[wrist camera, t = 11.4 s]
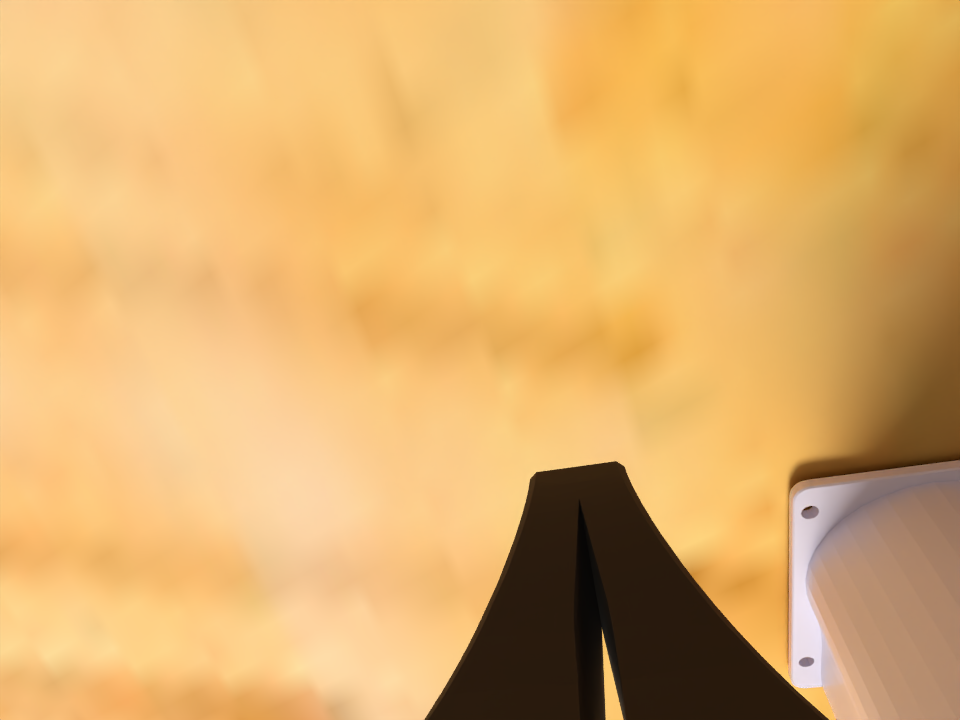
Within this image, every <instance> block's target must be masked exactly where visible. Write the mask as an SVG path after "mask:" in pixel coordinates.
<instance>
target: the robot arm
mask: <svg viewBox="0 0 960 720" xmlns="http://www.w3.org/2000/svg"><path fill="white" fill-rule="evenodd" d="M808 506H813V507H812V508H810V509H808V510H803V509H804V508H805V507H808ZM602 630H603V634H604V638H605V643H606V647H607V651H608V655H609V660H610V664H611V668H612V672H613V676H614V681H615V685H616V689H617V693H618V698H619V702H620V706H621V710H622V714H623V719H624V720H829V719H828V718H827V717H825V716H824V715H823V714H822V713H821V712H820V711H819V710H818V709H816V708H815V707H814V706H813V705H812V704H811V703H810V702H809V701H807V700H806V699H805V698H804V697H803V696H802V695H801V694H800V693H798V692H797V691H796V690H795V689H794V688H793V687H792V686H791V685H790V684H789V683H788V682H787V681H786V680H785V679H784V678H783V677H782V676H781V675H780V674H779V673H778V672H777V671H776V670H775V669H774V668H773V667H772V666H771V665H770V664H769V663H768V662H767V661H766V660H765V659H764V658H763V657H762V656H761V655H760V654H759V653H758V652H757V651H756V650H755V649H754V648H753V647H752V646H751V645H750V643H749V642H748V641H747V640H746V639H745V638H744V637H743V636H742V635H741V634H740V633H739V632H738V631H737V630H736V628H735V627H734V626H733V625H732V624H731V623H730V622H729V621H728V620H727V618H726V617H725V616H724V615H723V614H722V613H721V611H720V610H719V609H718V608H717V607H716V606H715V604H714V603H713V602H712V601H711V600H710V598H709V597H708V596H707V595H706V593H705V592H704V591H703V590H702V589H701V587H700V586H699V585H698V584H697V582H696V581H695V580H694V579H693V577H692V576H691V575H690V573H689V572H688V571H687V569H686V568H685V567H684V566H683V564H682V563H681V561H680V560H679V559H678V557H677V556H676V554H675V553H674V552H673V550H672V549H671V547H670V546H669V545H668V543H667V542H666V540H665V539H664V538H663V536H662V535H661V533H660V532H659V530H658V529H657V527H656V526H655V524H654V523H653V521H652V520H651V518H650V516H649V515H648V513H647V511H646V510H645V508H644V506H643V505H642V503H641V501H640V499H639V498H638V496H637V494H636V492H635V490H634V488H633V486H632V484H631V482H630V480H629V477H628V475H627V473H626V470H625V467H624V466H623V465H621V464H620V463H618V462H617V461H615V462H608V463H601V464H593V465H586V466H579V467H572V468H564V469H557V470H550V471H543V472H536V473H535V474H534V476H533V477H532V478H531V479H530V484H529V490H528V495H527V499H526V503H525V507H524V511H523V514H522V517H521V521H520V524H519V527H518V530H517V533H516V536H515V539H514V542H513V545H512V547H511V550H510V553H509V555H508V558H507V560H506V563H505V566H504V568H503V571H502V574H501V576H500V579H499V581H498V583H497V586H496V588H495V590H494V592H493V595H492V597H491V599H490V601H489V603H488V606H487V608H486V610H485V612H484V614H483V616H482V619H481V621H480V623H479V625H478V627H477V629H476V631H475V633H474V635H473V637H472V639H471V641H470V643H469V645H468V647H467V649H466V651H465V653H464V654H463V656H462V658H461V660H460V662H459V664H458V665H457V667H456V669H455V671H454V672H453V674H452V676H451V678H450V679H449V681H448V683H447V685H446V686H445V688H444V690H443V691H442V693H441V694H440V696H439V698H438V699H437V701H436V702H435V704H434V705H433V707H432V709H431V710H430V712H429V713H428V715H427V717H426V718H425V720H605V695H604V670H603V646H602ZM788 673H789V676H790V679H791V682H792V684H793V685H794V686H796V687H799V688H813V687H823V689H824V691H825V694H826V696H827V699H828V701H829V704H830V706H831V708H832V711H833V713H834V716H835V718H836V720H960V460H956V461H948V462H940V463H933V464H925V465H917V466H909V467H902V468H894V469H886V470H879V471H871V472H863V473H855V474H848V475H840V476H832V477H825V478H817V479H809V480H804V481H801V482H799V483H797V484H795V485H794V486H793V488H792V489H791V491H790V495H789V665H788Z"/></svg>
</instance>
